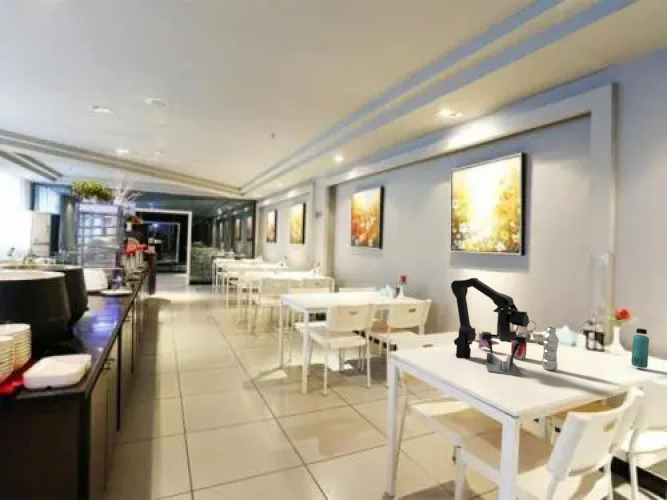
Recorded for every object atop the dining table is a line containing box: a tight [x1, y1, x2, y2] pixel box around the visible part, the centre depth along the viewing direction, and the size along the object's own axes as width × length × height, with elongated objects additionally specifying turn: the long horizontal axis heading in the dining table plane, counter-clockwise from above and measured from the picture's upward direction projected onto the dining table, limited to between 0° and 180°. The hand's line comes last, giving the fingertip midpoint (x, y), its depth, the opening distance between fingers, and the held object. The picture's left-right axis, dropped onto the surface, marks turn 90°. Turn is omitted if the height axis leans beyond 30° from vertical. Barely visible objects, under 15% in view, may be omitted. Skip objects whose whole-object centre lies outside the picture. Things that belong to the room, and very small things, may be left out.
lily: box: [473, 332, 500, 350], centre depth 210 cm, size 12×12×10 cm
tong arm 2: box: [505, 354, 514, 370], centre depth 181 cm, size 2×12×4 cm, turn 151°
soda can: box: [510, 334, 528, 361], centre depth 198 cm, size 7×7×12 cm
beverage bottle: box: [630, 327, 650, 369], centre depth 189 cm, size 6×7×20 cm
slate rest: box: [483, 358, 523, 377], centre depth 181 cm, size 14×18×5 cm
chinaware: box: [510, 319, 545, 345], centre depth 236 cm, size 28×17×17 cm, turn 81°
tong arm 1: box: [486, 352, 503, 369], centre depth 183 cm, size 2×12×4 cm, turn 178°
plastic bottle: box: [541, 326, 559, 371], centre depth 182 cm, size 6×7×20 cm
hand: (502, 355), depth 181 cm, fingers open, 9 cm apart
